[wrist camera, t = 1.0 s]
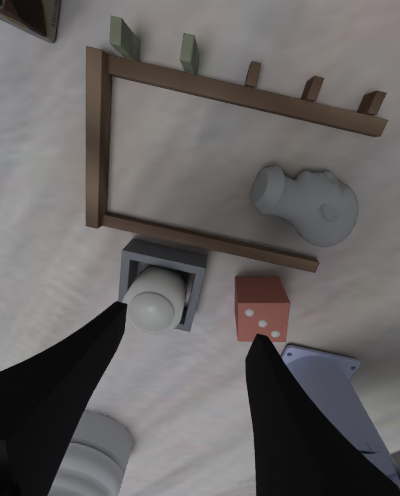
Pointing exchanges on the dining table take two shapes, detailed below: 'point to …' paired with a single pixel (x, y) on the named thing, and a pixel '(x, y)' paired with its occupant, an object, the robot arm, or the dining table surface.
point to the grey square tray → (169, 260)
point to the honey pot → (94, 458)
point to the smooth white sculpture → (307, 203)
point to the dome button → (155, 300)
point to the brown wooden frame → (128, 46)
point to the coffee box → (32, 16)
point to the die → (261, 308)
